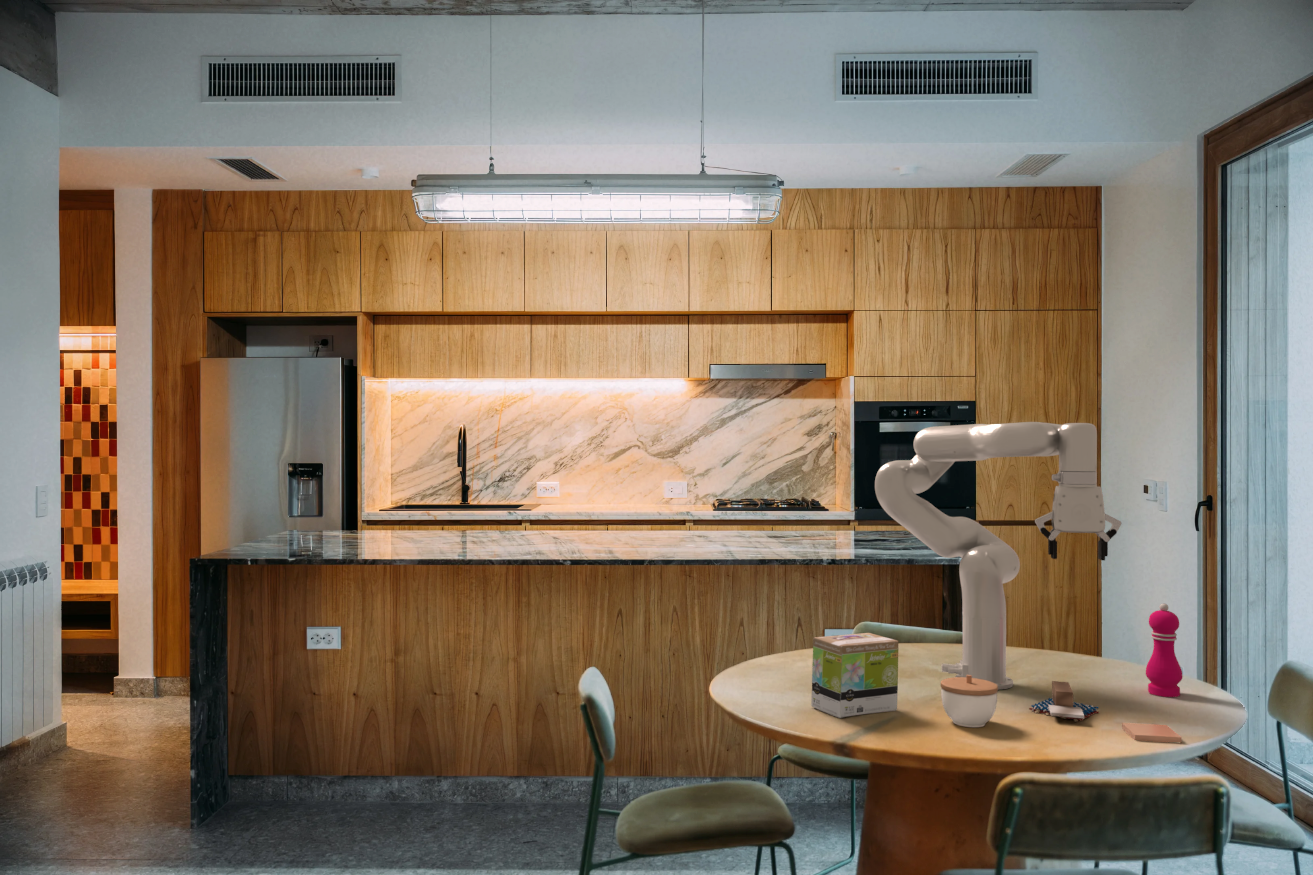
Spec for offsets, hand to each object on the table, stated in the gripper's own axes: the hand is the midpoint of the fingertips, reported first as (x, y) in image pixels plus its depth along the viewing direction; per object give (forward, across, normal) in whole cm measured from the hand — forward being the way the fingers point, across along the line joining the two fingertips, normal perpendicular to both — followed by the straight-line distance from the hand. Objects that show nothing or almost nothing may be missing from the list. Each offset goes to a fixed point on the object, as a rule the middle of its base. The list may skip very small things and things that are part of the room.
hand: (1077, 559), depth 206 cm
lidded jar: (+31, -25, -24) cm, 46 cm away
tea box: (+31, -47, -19) cm, 59 cm away
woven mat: (+31, -5, -11) cm, 33 cm away
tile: (+30, +8, -21) cm, 37 cm away
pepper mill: (+31, +20, +10) cm, 38 cm away
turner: (+29, -5, -13) cm, 32 cm away
